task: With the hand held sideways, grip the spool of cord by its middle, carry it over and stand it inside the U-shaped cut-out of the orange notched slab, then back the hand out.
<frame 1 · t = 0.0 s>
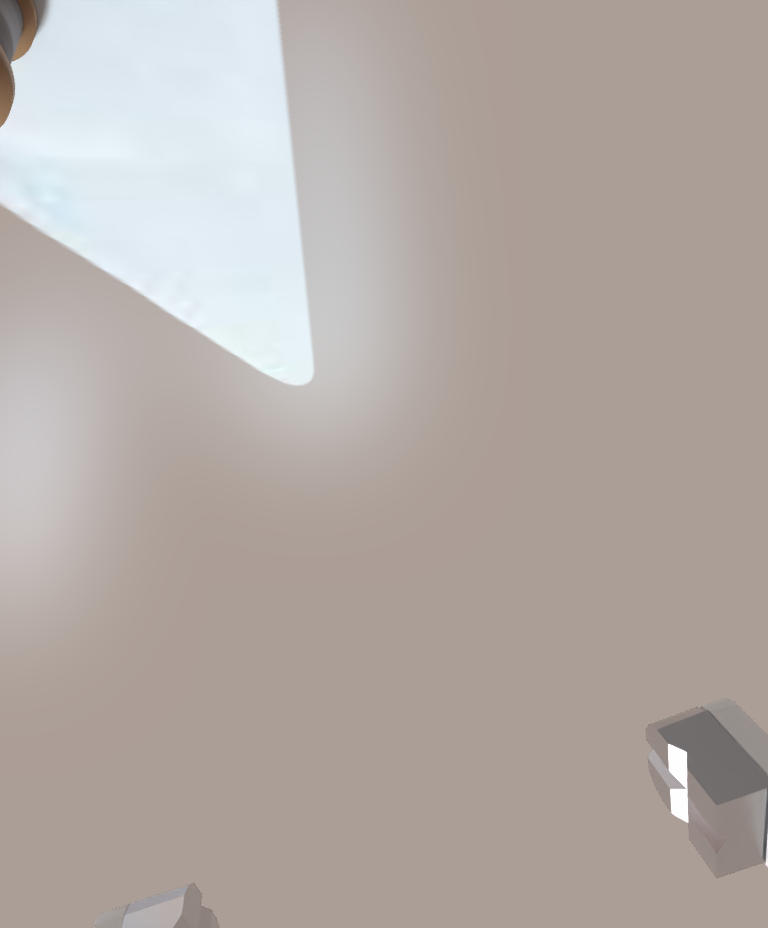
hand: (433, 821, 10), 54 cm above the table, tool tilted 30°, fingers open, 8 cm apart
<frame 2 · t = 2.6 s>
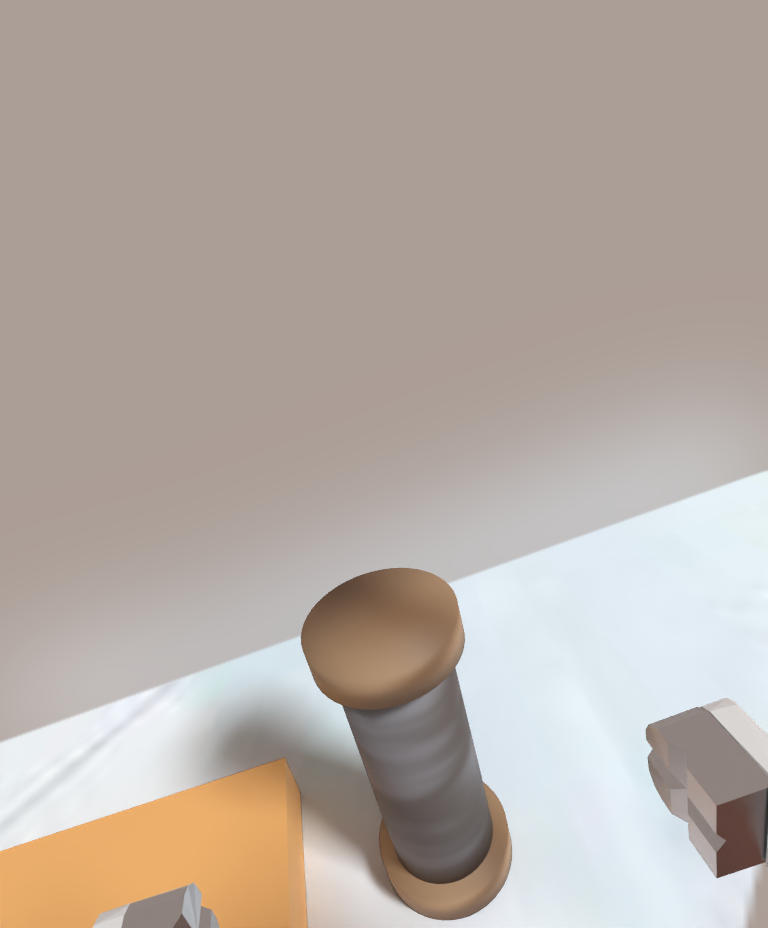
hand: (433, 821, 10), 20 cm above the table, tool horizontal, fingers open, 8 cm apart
cord spool: (447, 847, 29), on the table
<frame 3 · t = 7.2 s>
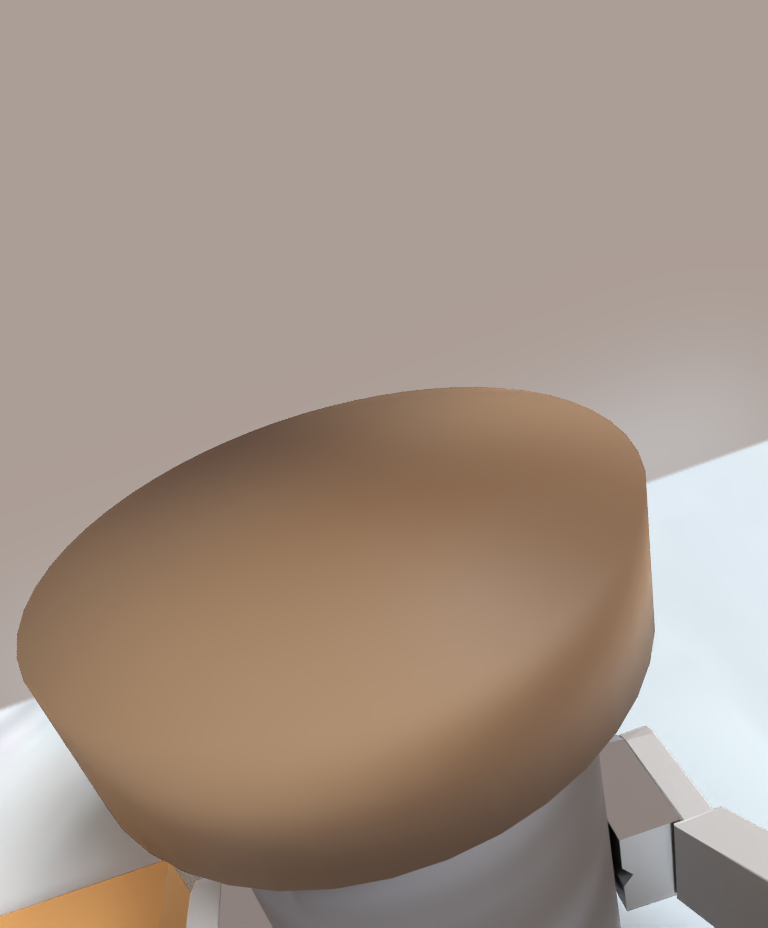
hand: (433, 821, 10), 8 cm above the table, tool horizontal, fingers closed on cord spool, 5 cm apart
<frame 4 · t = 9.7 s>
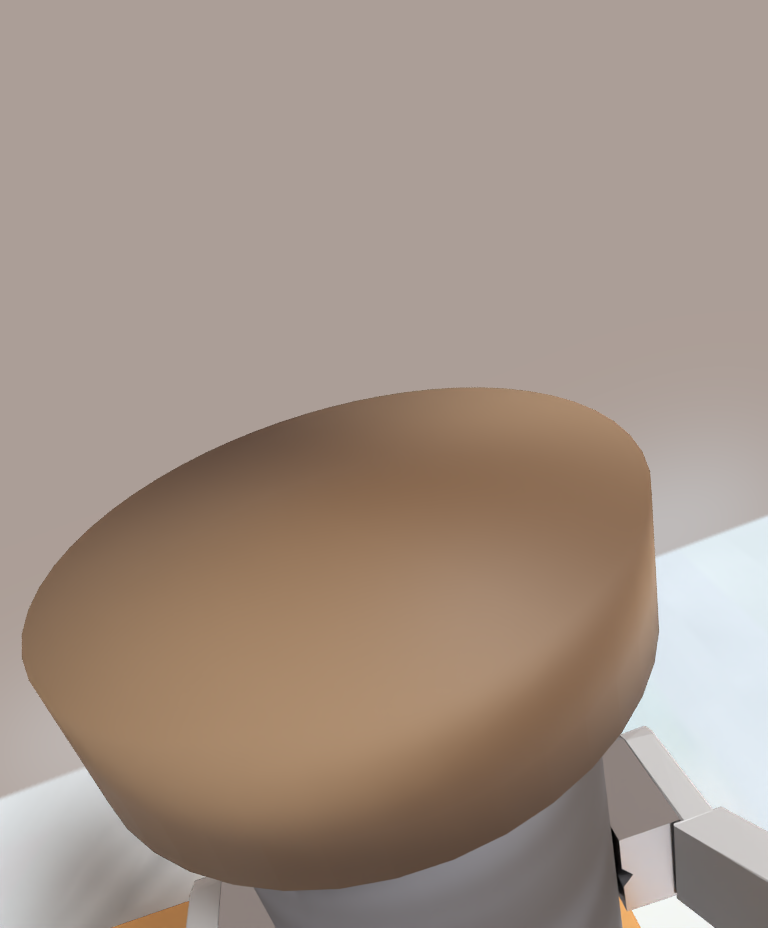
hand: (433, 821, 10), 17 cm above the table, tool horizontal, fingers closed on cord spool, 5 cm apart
when the fingers open (9 cm above the table, at t = 12.3 s): cord spool drops 1 cm, resting in orange notched slab.
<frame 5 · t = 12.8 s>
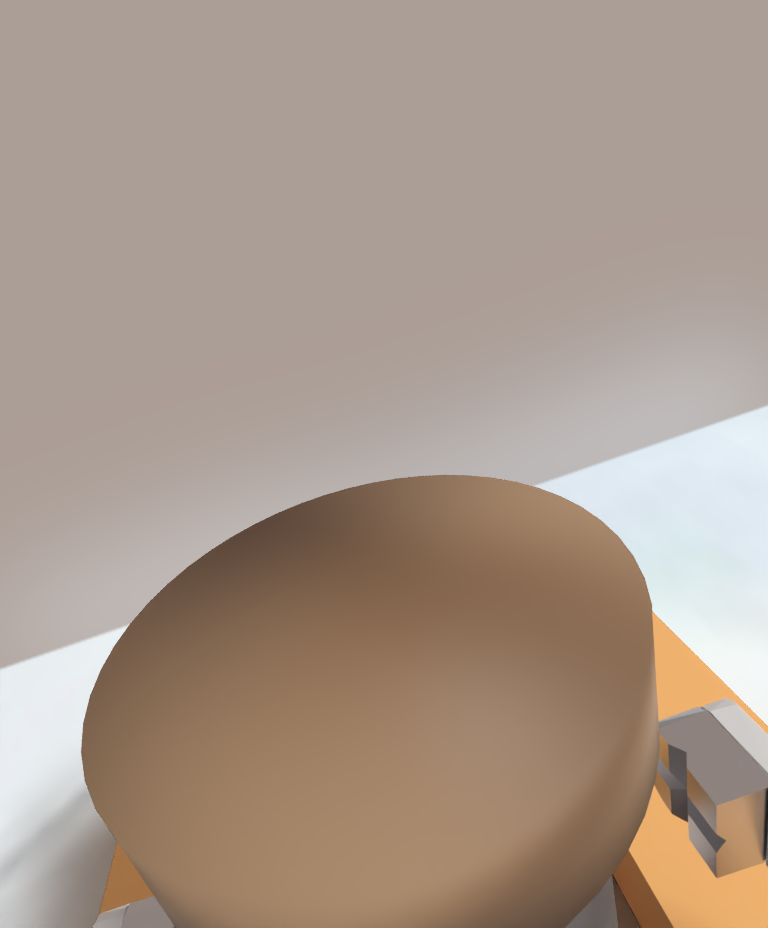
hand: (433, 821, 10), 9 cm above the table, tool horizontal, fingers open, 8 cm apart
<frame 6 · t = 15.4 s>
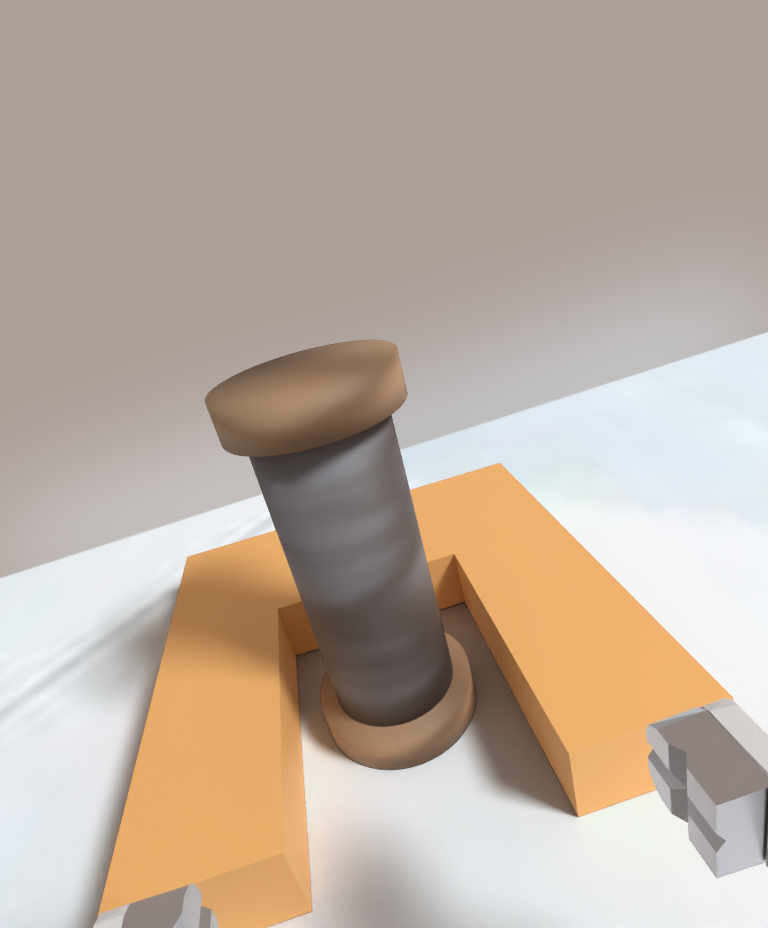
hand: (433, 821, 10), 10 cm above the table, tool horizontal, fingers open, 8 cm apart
cord spool: (401, 702, 25), resting in orange notched slab
orange notched slab: (388, 654, 28), on the table
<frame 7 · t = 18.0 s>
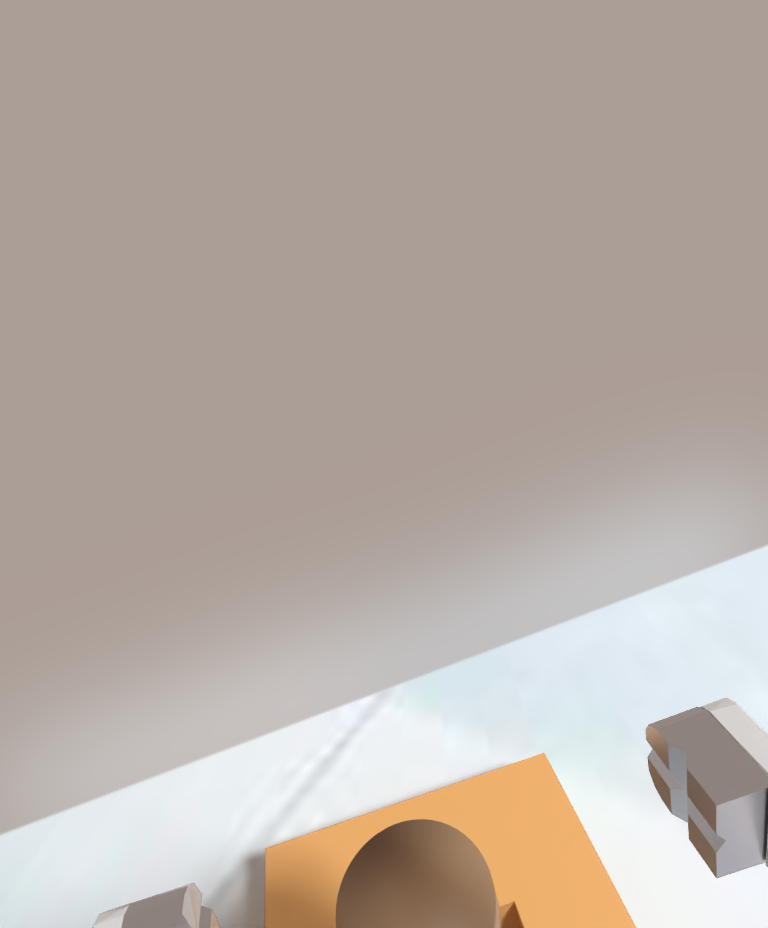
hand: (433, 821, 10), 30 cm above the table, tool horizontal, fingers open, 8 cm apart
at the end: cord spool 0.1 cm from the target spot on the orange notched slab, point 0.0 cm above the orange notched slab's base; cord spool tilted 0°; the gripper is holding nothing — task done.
